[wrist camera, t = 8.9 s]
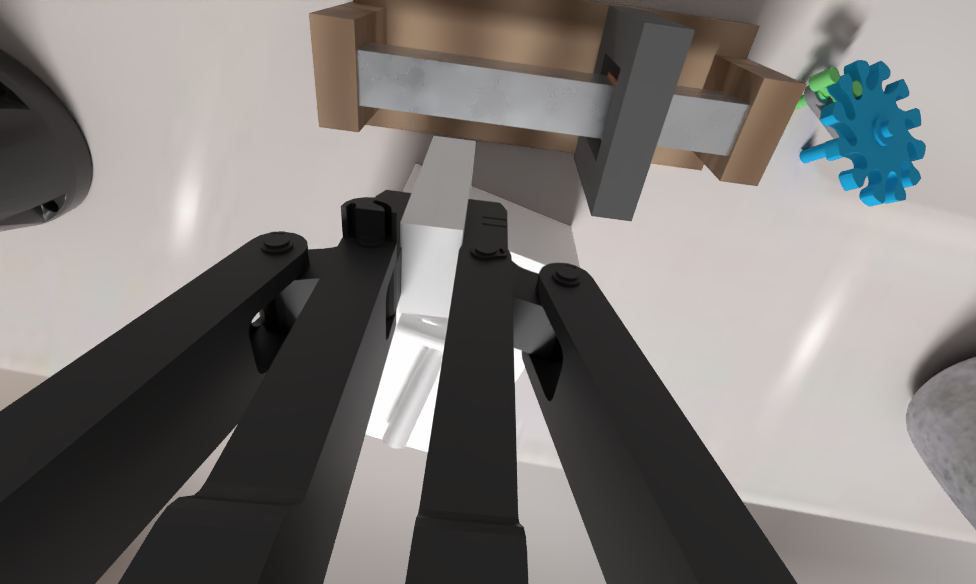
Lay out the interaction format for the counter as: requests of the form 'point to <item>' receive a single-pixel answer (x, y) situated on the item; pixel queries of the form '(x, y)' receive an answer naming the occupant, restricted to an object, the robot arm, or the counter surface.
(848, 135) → the gear
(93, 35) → the counter surface
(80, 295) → the counter surface
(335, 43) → the wooden stand
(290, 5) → the counter surface
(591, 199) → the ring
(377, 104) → the light grey bar
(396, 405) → the white pegged block
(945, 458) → the vase
